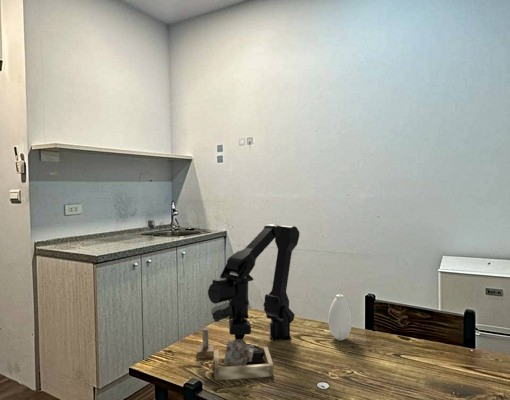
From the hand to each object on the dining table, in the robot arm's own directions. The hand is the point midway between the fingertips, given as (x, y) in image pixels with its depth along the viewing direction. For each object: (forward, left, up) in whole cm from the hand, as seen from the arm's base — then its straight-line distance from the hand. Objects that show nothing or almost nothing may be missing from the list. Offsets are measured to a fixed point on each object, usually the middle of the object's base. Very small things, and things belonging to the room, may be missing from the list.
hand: (238, 345), depth 114 cm
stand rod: (+10, -2, -3) cm, 11 cm away
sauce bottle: (-36, -7, -3) cm, 37 cm away
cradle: (-1, +8, -3) cm, 8 cm away
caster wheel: (-2, +4, -3) cm, 5 cm away
